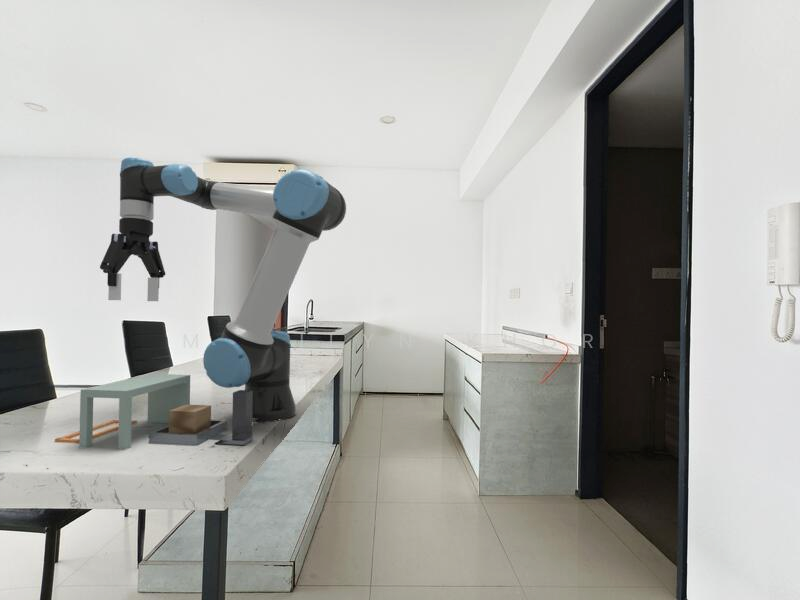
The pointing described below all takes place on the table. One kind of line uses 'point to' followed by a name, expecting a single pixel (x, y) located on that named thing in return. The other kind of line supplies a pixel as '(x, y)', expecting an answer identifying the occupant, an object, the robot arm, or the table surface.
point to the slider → (216, 426)
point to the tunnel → (161, 399)
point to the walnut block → (190, 419)
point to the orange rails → (69, 437)
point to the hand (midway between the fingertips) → (134, 300)
